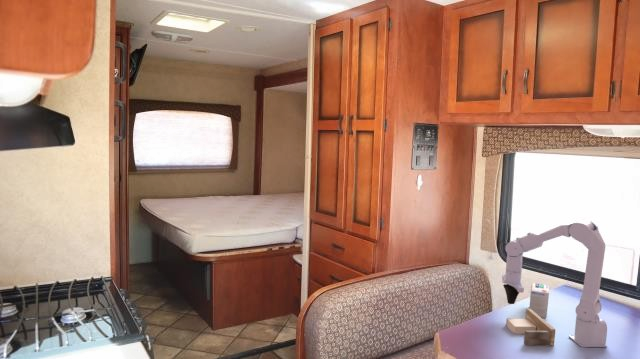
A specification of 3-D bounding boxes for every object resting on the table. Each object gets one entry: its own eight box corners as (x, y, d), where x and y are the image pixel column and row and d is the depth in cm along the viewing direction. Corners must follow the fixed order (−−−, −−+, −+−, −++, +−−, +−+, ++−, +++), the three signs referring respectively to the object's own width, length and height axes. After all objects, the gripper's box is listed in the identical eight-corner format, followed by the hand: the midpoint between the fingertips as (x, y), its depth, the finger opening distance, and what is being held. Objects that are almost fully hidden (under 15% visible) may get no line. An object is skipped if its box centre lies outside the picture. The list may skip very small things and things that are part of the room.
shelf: (529, 323, 180) (530, 308, 179) (554, 345, 162) (555, 329, 161) (503, 323, 180) (504, 308, 179) (525, 345, 162) (526, 329, 161)
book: (526, 325, 178) (526, 318, 178) (535, 334, 171) (536, 326, 171) (506, 325, 178) (506, 318, 177) (514, 334, 171) (514, 326, 170)
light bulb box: (529, 306, 197) (531, 282, 196) (546, 309, 194) (549, 284, 193) (528, 315, 187) (530, 290, 186) (547, 318, 184) (549, 293, 183)
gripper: (496, 264, 188) (493, 296, 189) (511, 276, 173) (509, 310, 175) (513, 264, 188) (510, 296, 190) (530, 276, 174) (527, 310, 175)
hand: (511, 303), depth 182 cm, fingers closed
